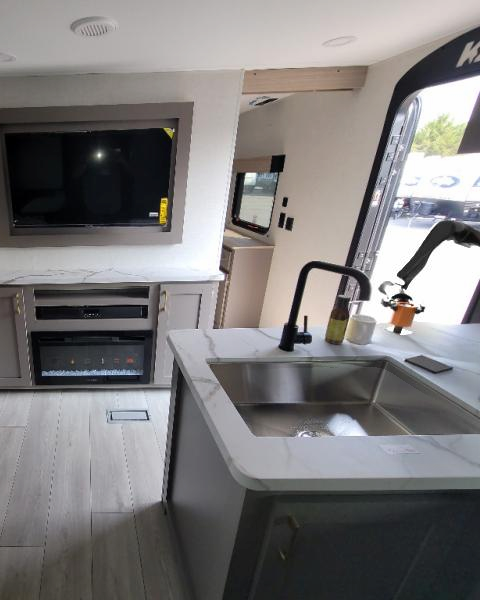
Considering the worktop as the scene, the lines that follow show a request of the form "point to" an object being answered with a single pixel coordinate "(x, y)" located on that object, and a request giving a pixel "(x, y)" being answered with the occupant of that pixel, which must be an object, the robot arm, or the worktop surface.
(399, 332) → the stand
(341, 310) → the sauce bottle
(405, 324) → the orange spice jar
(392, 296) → the robot arm
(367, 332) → the mug
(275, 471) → the worktop surface
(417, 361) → the mat
